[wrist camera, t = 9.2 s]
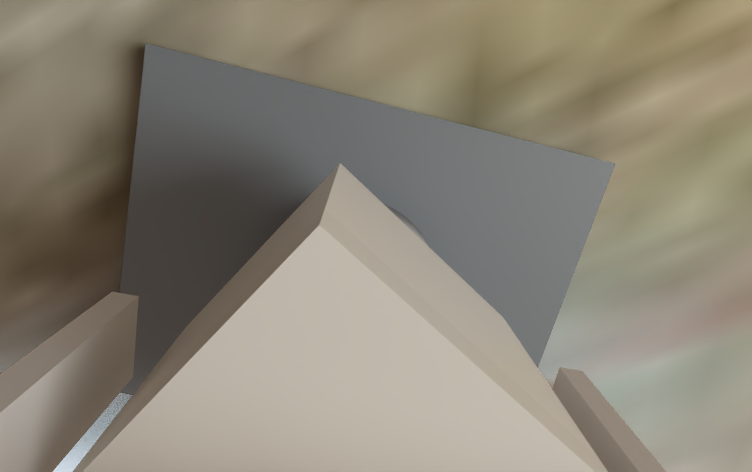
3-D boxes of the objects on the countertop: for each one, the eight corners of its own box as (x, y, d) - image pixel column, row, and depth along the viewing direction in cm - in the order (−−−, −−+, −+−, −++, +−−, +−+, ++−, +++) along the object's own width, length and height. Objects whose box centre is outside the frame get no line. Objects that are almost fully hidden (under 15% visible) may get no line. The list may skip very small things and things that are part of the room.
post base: (121, 376, 23) (-61, 583, 13) (158, 46, 19) (-64, -18, 9) (495, 446, 25) (584, 672, 15) (601, 160, 21) (822, 210, 11)
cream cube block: (351, 454, 19) (344, 716, 11) (185, 327, 17) (29, 527, 9) (503, 317, 17) (628, 501, 9) (340, 162, 16) (319, 224, 8)
